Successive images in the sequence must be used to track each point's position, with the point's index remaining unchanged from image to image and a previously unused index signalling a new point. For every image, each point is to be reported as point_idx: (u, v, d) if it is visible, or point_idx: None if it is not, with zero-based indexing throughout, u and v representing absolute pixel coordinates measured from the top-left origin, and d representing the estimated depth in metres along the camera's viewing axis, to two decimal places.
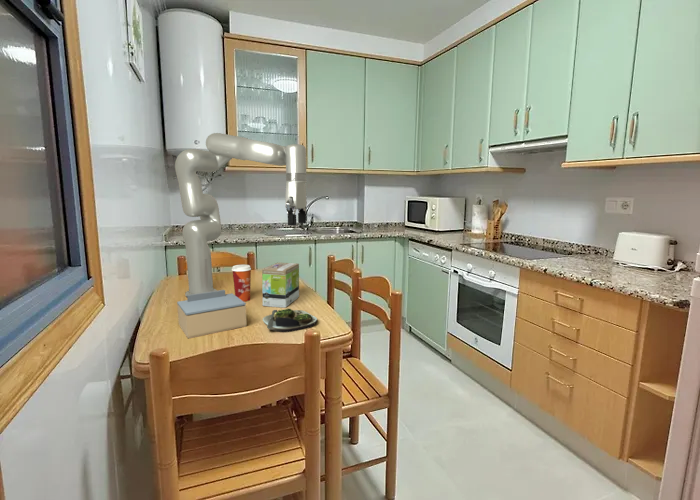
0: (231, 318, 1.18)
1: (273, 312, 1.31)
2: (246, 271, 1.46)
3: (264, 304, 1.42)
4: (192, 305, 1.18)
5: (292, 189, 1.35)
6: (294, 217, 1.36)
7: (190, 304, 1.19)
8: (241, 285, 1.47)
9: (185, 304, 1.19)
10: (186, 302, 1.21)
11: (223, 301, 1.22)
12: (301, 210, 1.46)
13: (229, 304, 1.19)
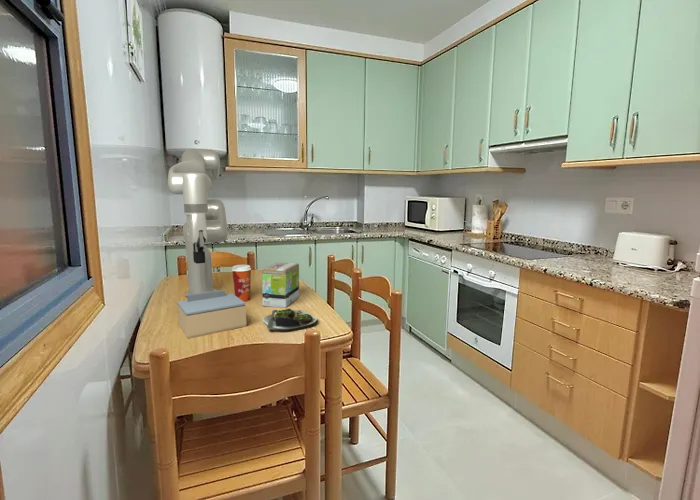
0: (231, 318, 1.18)
1: (273, 312, 1.31)
2: (246, 271, 1.46)
3: (264, 304, 1.42)
4: (192, 305, 1.18)
5: (201, 222, 1.24)
6: (203, 254, 1.29)
7: (190, 304, 1.19)
8: (241, 285, 1.47)
9: (185, 304, 1.19)
10: (186, 302, 1.21)
11: (223, 301, 1.22)
12: None
13: (229, 304, 1.19)
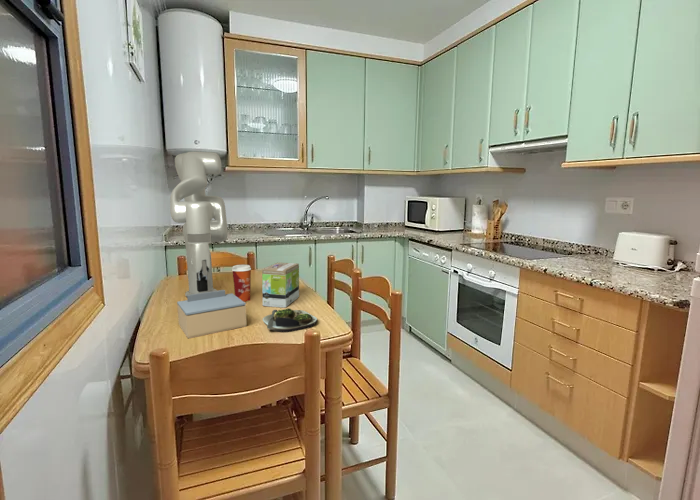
0: (231, 318, 1.18)
1: (273, 312, 1.31)
2: (246, 271, 1.46)
3: (264, 304, 1.42)
4: (192, 305, 1.18)
5: (204, 251, 1.24)
6: (206, 282, 1.29)
7: (190, 304, 1.19)
8: (241, 285, 1.47)
9: (185, 304, 1.19)
10: (186, 302, 1.21)
11: (223, 301, 1.22)
12: None
13: (229, 304, 1.19)
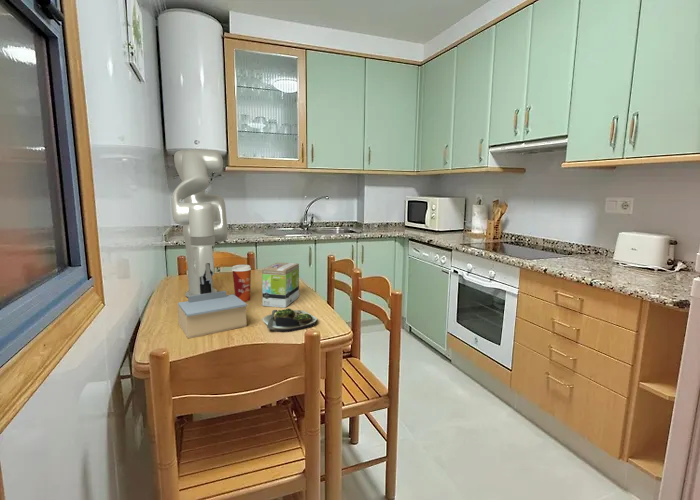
0: (231, 318, 1.18)
1: (273, 312, 1.31)
2: (246, 271, 1.46)
3: (264, 304, 1.42)
4: (193, 306, 1.17)
5: (208, 255, 1.20)
6: (209, 286, 1.25)
7: (191, 305, 1.18)
8: (241, 285, 1.47)
9: (186, 305, 1.17)
10: (187, 303, 1.20)
11: (224, 302, 1.21)
12: None
13: (230, 305, 1.18)
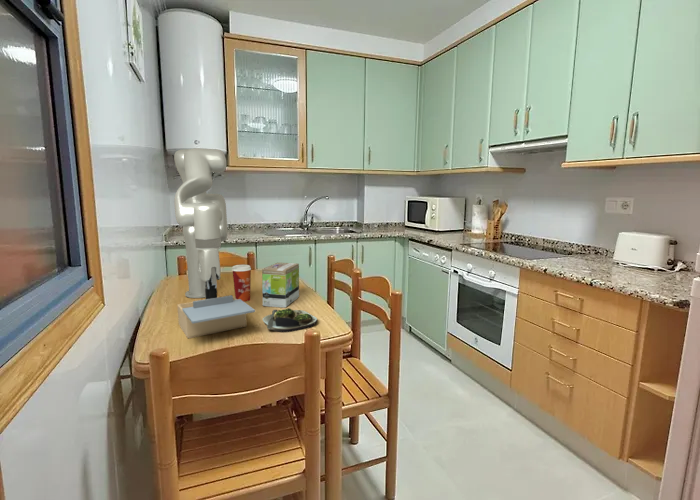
0: (231, 318, 1.18)
1: (273, 312, 1.31)
2: (246, 271, 1.46)
3: (264, 304, 1.42)
4: (198, 312, 1.11)
5: (214, 258, 1.14)
6: (215, 291, 1.20)
7: (196, 311, 1.12)
8: (241, 285, 1.47)
9: (191, 311, 1.12)
10: (192, 309, 1.14)
11: (231, 308, 1.15)
12: None
13: (238, 311, 1.12)
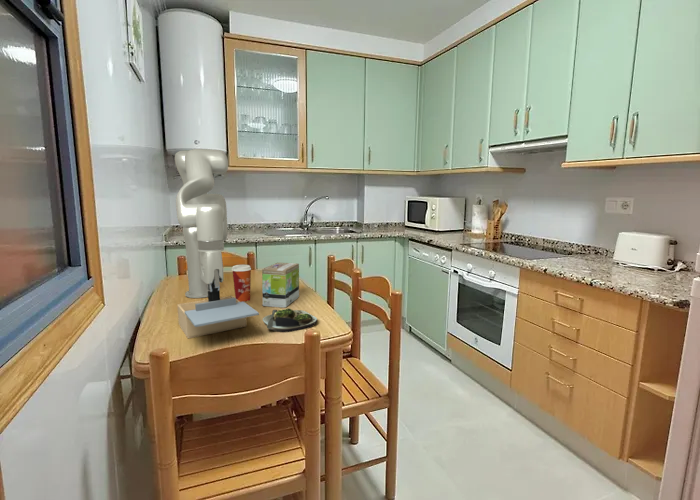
0: None
1: (273, 312, 1.31)
2: (246, 271, 1.46)
3: (264, 304, 1.42)
4: (201, 315, 1.08)
5: (217, 260, 1.12)
6: (218, 294, 1.17)
7: (199, 314, 1.09)
8: (241, 285, 1.47)
9: (194, 314, 1.09)
10: (194, 312, 1.11)
11: (234, 310, 1.12)
12: None
13: (241, 314, 1.09)
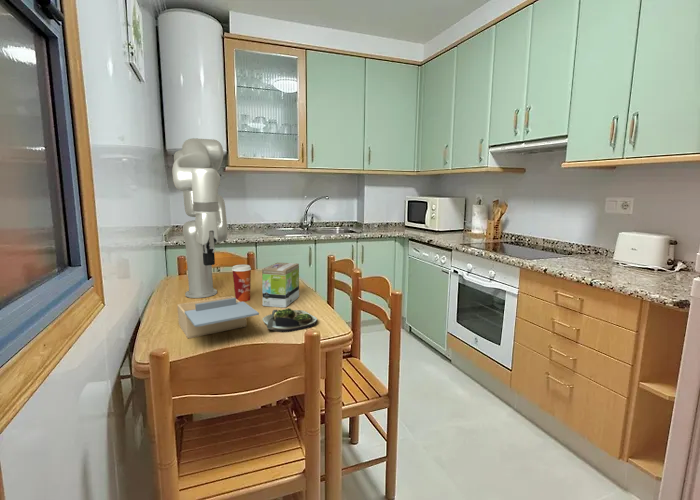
0: None
1: (273, 312, 1.31)
2: (246, 271, 1.46)
3: (264, 304, 1.42)
4: (201, 315, 1.08)
5: (212, 222, 1.14)
6: (213, 255, 1.20)
7: (199, 314, 1.09)
8: (241, 285, 1.47)
9: (194, 314, 1.09)
10: (194, 312, 1.11)
11: (234, 310, 1.12)
12: None
13: (241, 314, 1.09)
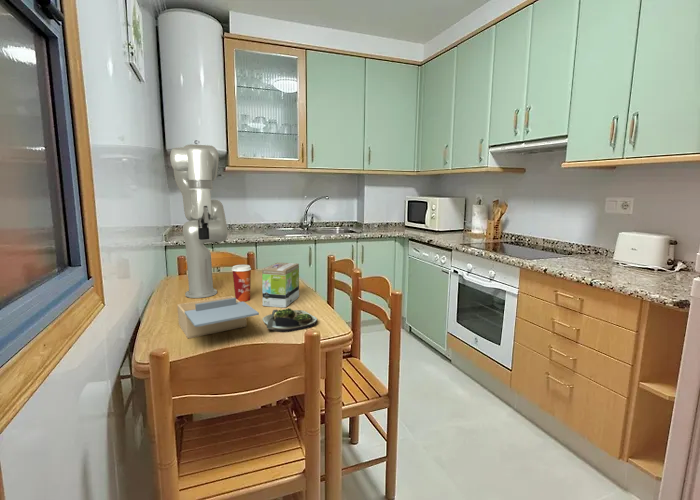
0: None
1: (273, 312, 1.31)
2: (246, 271, 1.46)
3: (264, 304, 1.42)
4: (201, 315, 1.08)
5: (206, 198, 1.24)
6: (207, 230, 1.29)
7: (199, 314, 1.09)
8: (241, 285, 1.47)
9: (194, 314, 1.09)
10: (194, 312, 1.11)
11: (234, 310, 1.12)
12: None
13: (241, 314, 1.09)
